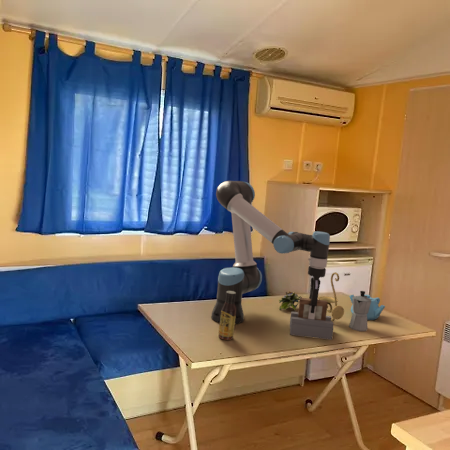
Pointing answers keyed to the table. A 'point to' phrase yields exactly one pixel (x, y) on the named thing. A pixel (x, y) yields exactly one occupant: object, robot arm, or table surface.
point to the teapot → (371, 308)
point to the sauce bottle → (228, 317)
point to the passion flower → (289, 300)
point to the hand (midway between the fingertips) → (310, 317)
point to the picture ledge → (311, 327)
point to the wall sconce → (337, 310)
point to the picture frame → (319, 313)
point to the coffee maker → (360, 312)
